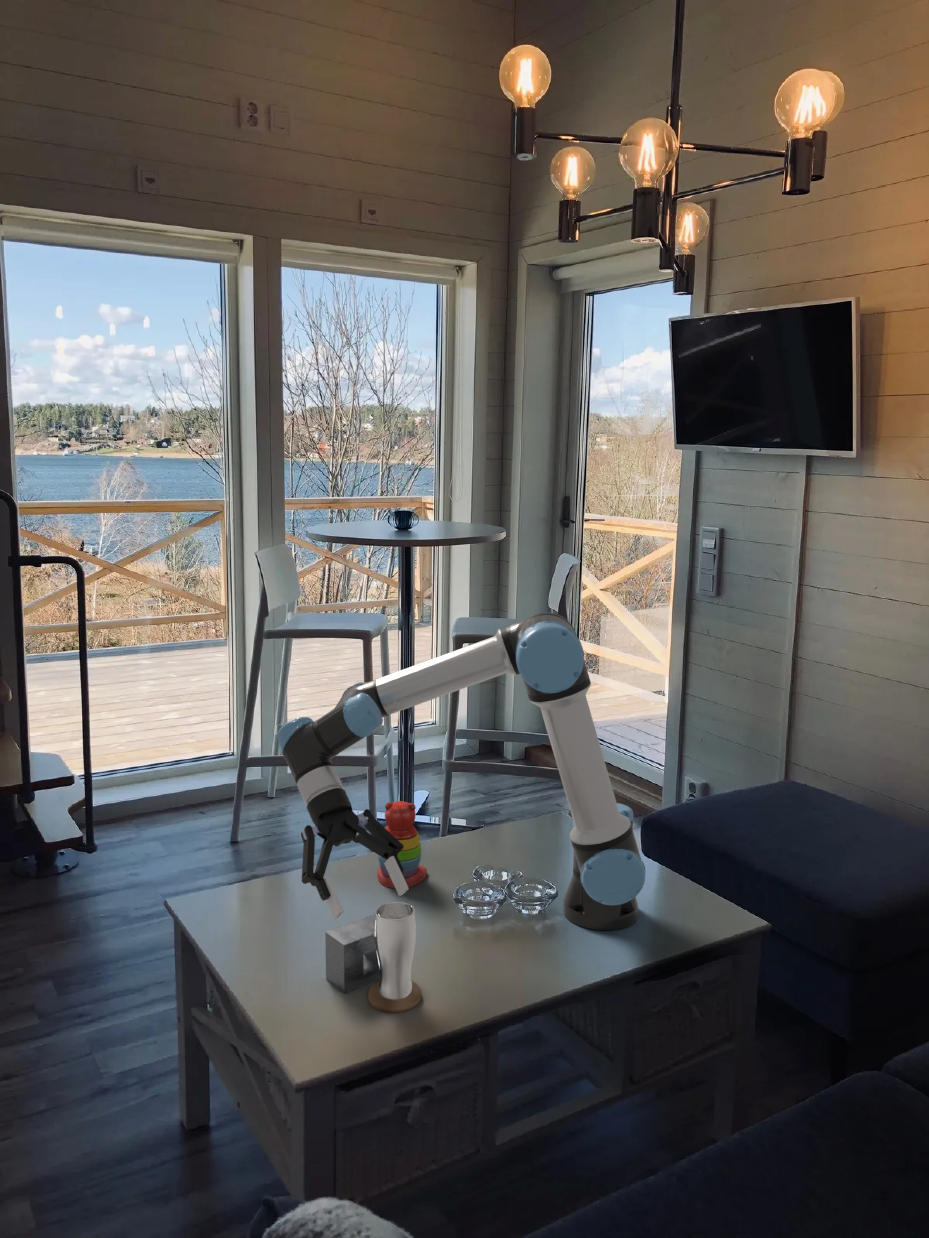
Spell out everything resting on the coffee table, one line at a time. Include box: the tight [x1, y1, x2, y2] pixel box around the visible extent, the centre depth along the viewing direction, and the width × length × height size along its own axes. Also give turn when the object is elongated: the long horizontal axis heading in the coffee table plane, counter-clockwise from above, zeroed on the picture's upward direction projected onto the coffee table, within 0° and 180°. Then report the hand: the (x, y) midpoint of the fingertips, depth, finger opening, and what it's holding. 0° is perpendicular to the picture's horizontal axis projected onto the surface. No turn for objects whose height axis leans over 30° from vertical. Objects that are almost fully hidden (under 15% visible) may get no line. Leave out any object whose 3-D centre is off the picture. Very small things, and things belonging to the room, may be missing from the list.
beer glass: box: [375, 901, 417, 1002], centre depth 165 cm, size 7×7×15 cm
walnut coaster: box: [367, 981, 422, 1014], centre depth 166 cm, size 9×9×1 cm
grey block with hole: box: [324, 913, 380, 994], centre depth 173 cm, size 6×12×9 cm, turn 130°
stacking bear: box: [376, 800, 428, 889], centre depth 211 cm, size 11×10×18 cm
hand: (372, 903), depth 168 cm, fingers open, 13 cm apart
